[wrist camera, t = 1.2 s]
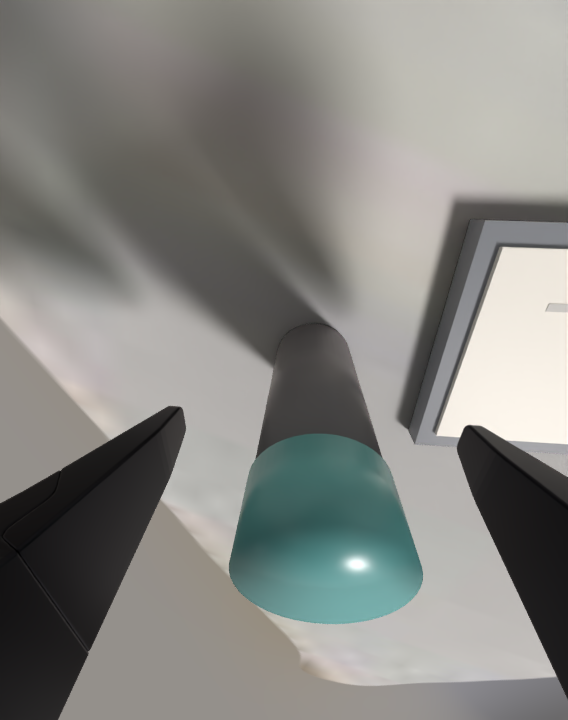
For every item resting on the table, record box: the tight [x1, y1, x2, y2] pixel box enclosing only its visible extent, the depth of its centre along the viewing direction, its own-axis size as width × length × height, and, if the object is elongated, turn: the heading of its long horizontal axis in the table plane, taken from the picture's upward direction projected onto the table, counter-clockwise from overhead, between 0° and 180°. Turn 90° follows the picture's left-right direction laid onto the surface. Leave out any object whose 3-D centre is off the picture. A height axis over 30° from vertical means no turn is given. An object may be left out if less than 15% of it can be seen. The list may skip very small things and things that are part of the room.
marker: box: [229, 324, 423, 624], centre depth 10 cm, size 4×4×9 cm
